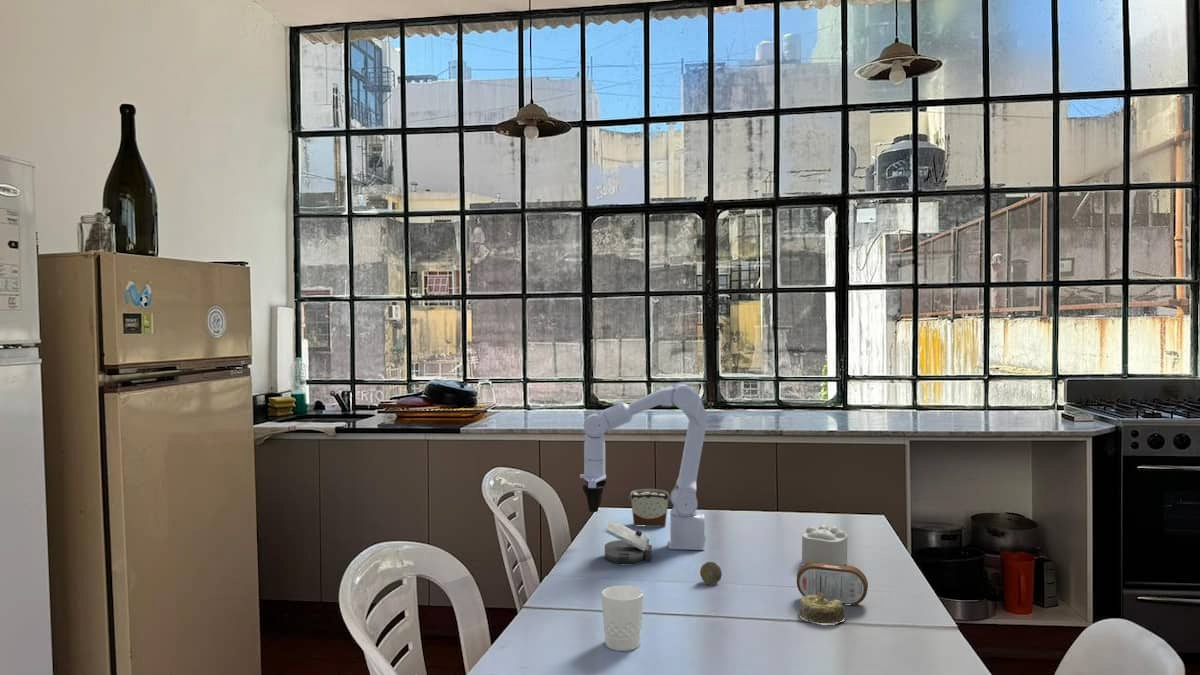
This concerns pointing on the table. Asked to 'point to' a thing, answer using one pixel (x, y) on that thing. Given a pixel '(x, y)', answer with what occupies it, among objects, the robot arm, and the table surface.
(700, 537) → the robot arm
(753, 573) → the table surface
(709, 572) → the lime
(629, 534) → the lid
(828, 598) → the tin
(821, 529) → the lumpy-topped squat cylinder
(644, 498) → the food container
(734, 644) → the table surface
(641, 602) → the white cup
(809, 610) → the cake
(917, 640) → the table surface
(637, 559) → the pot
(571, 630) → the table surface
